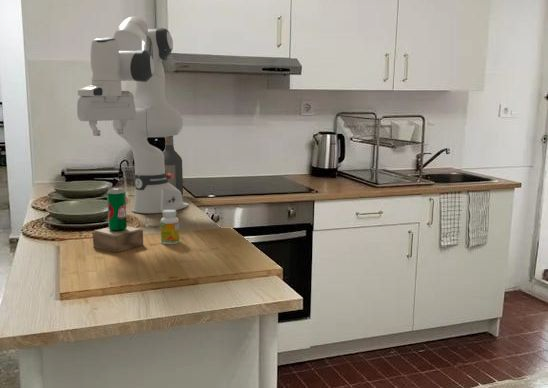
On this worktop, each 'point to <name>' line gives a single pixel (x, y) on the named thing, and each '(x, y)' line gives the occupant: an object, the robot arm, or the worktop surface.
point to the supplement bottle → (169, 227)
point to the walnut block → (117, 239)
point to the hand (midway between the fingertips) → (109, 135)
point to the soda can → (116, 209)
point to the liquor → (173, 164)
